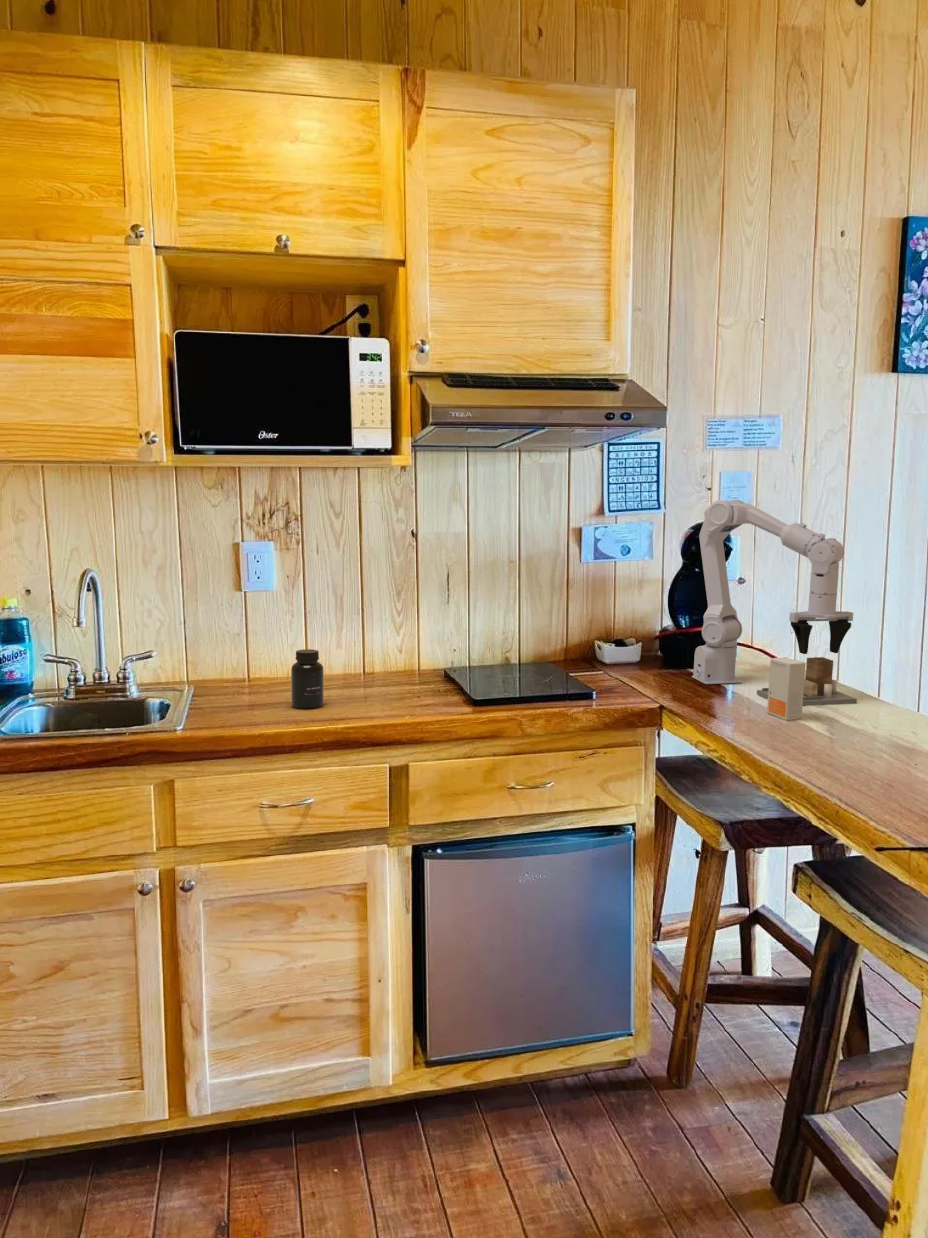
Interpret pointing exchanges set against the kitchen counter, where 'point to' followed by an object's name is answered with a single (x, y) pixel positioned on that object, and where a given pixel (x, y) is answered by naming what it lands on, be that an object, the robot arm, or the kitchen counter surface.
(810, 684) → the jaw plate
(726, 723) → the kitchen counter surface
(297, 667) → the supplement bottle
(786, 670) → the skincare box
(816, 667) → the walnut block
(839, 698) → the dock
